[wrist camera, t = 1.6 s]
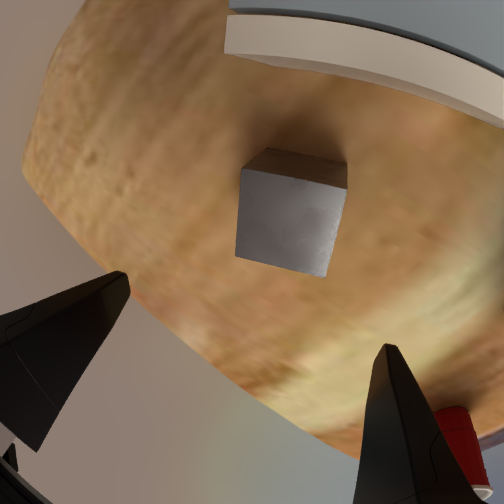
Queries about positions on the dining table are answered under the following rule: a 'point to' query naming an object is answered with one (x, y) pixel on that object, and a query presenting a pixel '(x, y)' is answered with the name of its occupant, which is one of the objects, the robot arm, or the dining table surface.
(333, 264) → the dining table surface
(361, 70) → the white step stool
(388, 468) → the robot arm
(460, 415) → the plastic cup
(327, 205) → the block
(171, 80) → the dining table surface
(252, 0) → the trapdoor
